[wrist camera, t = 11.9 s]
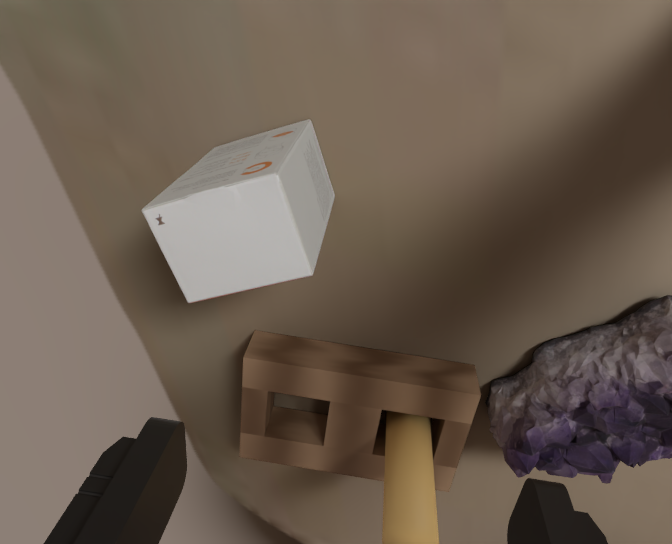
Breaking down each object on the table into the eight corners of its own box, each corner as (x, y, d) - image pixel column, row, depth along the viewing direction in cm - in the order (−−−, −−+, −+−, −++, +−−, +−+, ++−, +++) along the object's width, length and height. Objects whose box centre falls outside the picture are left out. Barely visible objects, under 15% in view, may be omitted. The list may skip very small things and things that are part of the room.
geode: (519, 455, 51) (533, 541, 42) (461, 365, 48) (463, 436, 39) (749, 379, 43) (826, 465, 34) (694, 267, 41) (762, 328, 32)
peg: (433, 393, 48) (444, 530, 36) (424, 424, 50) (432, 564, 38) (390, 386, 48) (387, 520, 36) (383, 417, 50) (378, 554, 38)
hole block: (474, 365, 46) (481, 395, 42) (445, 458, 52) (448, 492, 48) (254, 330, 47) (243, 357, 43) (249, 426, 52) (239, 457, 49)
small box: (243, 221, 42) (185, 306, 30) (212, 146, 39) (136, 208, 28) (338, 197, 40) (315, 277, 28) (312, 116, 37) (276, 169, 26)
